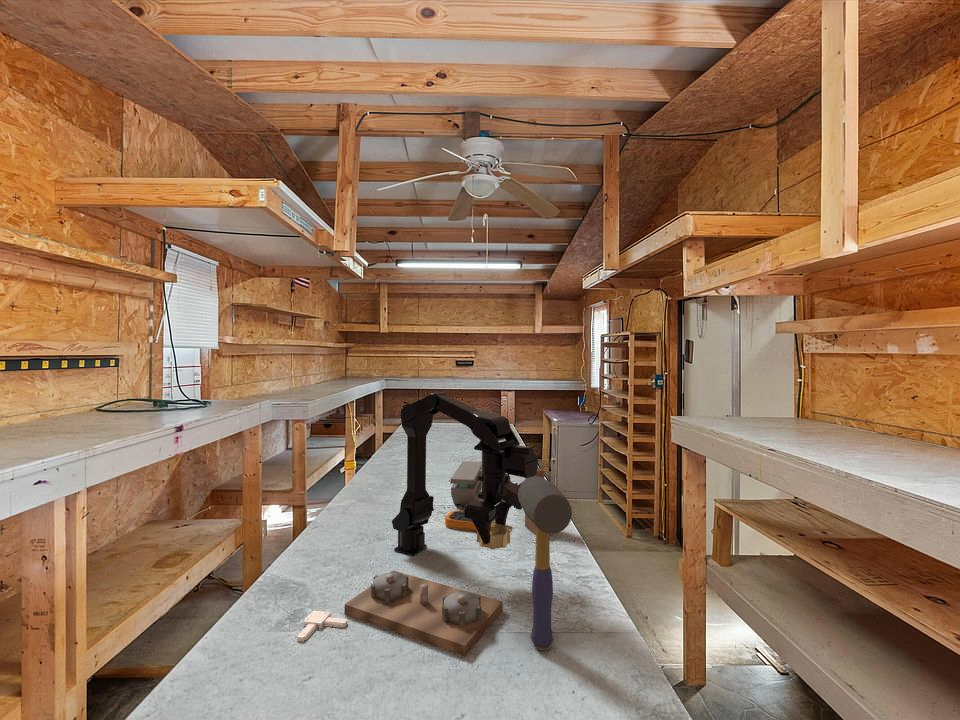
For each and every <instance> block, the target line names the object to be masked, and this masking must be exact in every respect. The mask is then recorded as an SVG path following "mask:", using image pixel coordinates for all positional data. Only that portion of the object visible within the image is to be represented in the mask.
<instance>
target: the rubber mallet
mask: <svg viewBox="0 0 960 720" xmlns="http://www.w3.org/2000/svg"><path fill="white" fill-rule="evenodd" d="M520 483H521V482H520ZM518 500H519V502H520V504H521V506H522V510H523V512H524V515H525V514H526V515H527V517H528V518H529V519H530V520H531V521H532V522H533V523H534V524H535V525H536V535H535V555H534V557H535V558H534V559H535V566H534V569H533V573H532V582H531V599H532V608H533V609H532V610H533V611H532V613H533V615H532V629H531V633H530V639H531V641H532V644H533V647H534V649H537V650H539V651H547V650H549V649H550V647H551V645H552V643H553V641H554V633H553V630H552V629H553V628H552V605H553V597H554V584H553V583H554V581H553V573H552V569H551V566H550V556H551V555H550V551H551V549H550V546H551V544H550V543H551V542H550V538H551V537H550V536H551V535H555V534H559V533H561V532H562V531H564V530H566V528H567V527H568V526H569V524H570V523H571V520H572V516H573V512H572V511H573V509H572V506H571V504H570V502H569V500H568V498H567V497H566V496H565V495H564V493H563V492H561V490H560V489H559V488H558V487H557V486H556V485H554V483H552V482H550V481H549V480H548V479H547V478H545V477H544V478H542V477H538V476H533V477H529V478H527V479H526V480H525V479H524V480H523V481H522V483H521V485H520V487H519V490H518ZM550 534H551V535H550Z"/></svg>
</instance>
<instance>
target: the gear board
mask: <svg viewBox="0 0 960 720" xmlns="http://www.w3.org/2000/svg"><path fill="white" fill-rule="evenodd" d="M503 602H504V601H503V600H499V599H496V598H492V597H489V596H485V595H483V594H478V593H474V592H471V591H467V590H464V589H460V588H458V587H453V586H450V585H446V584H443V583H439V582H436V581H433V580H428V579H425V578H421V577H418V576H414V575H410V574H408V573H404V572H400V571H397V570H391V571H390V572H385V573H381V574H378V575H373V581H372V583H371V584H370V586H368V587H367V588H366V589H365V590H363V591H362V592H360V593H359V594H357V595H356V596H354V597H353V598H351V599H350V600H349V601H347V602H346V603H344V615H347V616H349V617H352V618H354V619H358V620H360V619H361V620H360V621H363V622H366V623H370V624H371V623H372V624H371V625H374V624H375V626H378V627H380V628H383V629H385V628H386V630H388V629H389V631H391V632H394V633H397V634H399V635H403V636H405V637H408V638H410V637H411V639H414V640H416V641H419V642H421V643H425V644H428V645H430V646H433V647H436V648H439V649H442V650H443V651H447V652H449V653H453V654H455V655H458V656H460V657H463V658H465V657H467V655H468V654H469V653H470V651H471V650H472V649H473V648H474V647H475V645H476V644H477V643H478V641H479V640H480V639H481V638H482V637H483V635H484V634H485V633H486V632H487V631H488V629H490V627H491V626H492V624H493V623H494V622H495V621H496V620H497V618H498V617H499V616H500V615H501V613H502V612H503V611H504V610H503V609H504V608H503Z"/></svg>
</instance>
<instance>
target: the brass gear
mask: <svg viewBox="0 0 960 720" xmlns="http://www.w3.org/2000/svg"><path fill="white" fill-rule="evenodd" d="M476 543H478V545H479V547H481V548H487V549H489V550H495V549H504V548H507V546H508V545H509V544H511V528H508V525H507V524H506V525H501V524H497V523H492V524H491V530H490V538H489V543H488V544H484V543H483V541H482V539H481V537H480V535H479V533H478V531H476Z"/></svg>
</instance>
